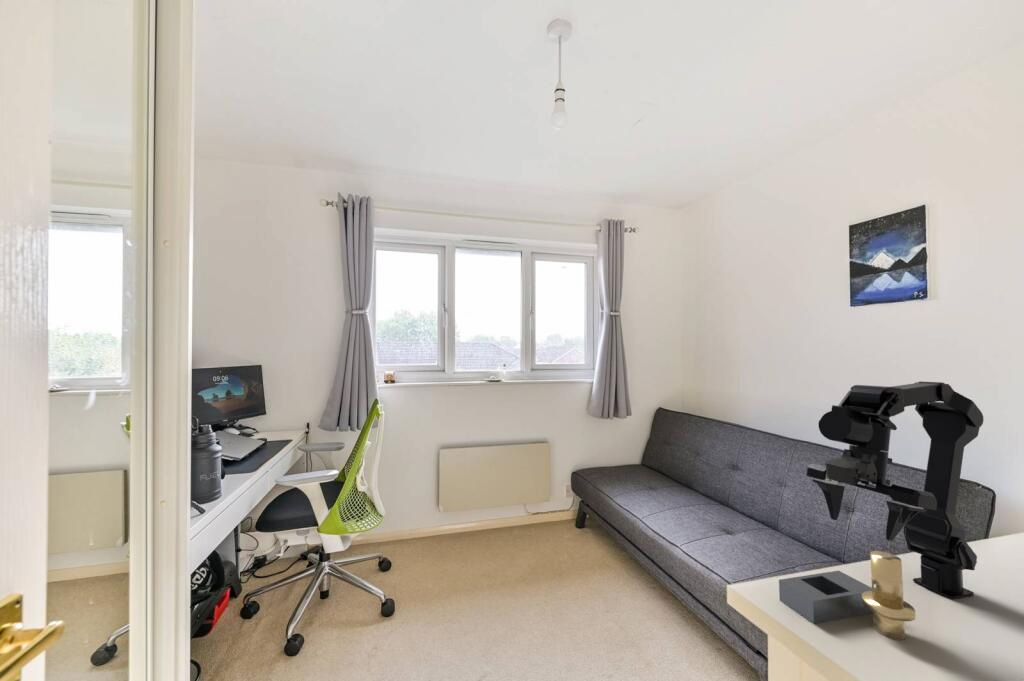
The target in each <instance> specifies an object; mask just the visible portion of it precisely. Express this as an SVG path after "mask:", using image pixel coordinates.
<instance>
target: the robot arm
mask: <svg viewBox="0 0 1024 681" xmlns="http://www.w3.org/2000/svg"><path fill="white" fill-rule="evenodd" d="M911 406H915V408H914V410H915V411H916V412H917V414H918V415H919V416H920V417H921V419H922V422H921V423H922V428H923V429H924V430H925V432H926V434H927V435H928V437H929V438H930V443H929V444H930V445H929V452H928V458H927V466H926V472H925V478H924V485H923V490H922V489H917V488H915V487H910V486H905V485H899V484H894V483H892V484H891V479H887V471H888V464H890V465H892V464H893V458H891V457H889V450H890V442H891V441H890V440H891V432H892V431H896V430H897V429H898V428H897V426H896V424H895V423H893V422H892V421H891V419H890V418H891V417H895V416H898V415H899V414H900V415H901V414H902V413H904V412H905V408H906V407H911ZM983 424H984V415H983V413H982V411H981V409H980V408H979V407H978V405H977V404H976V403H975V402H974V401H973V400H972V399H970V398H968V397H966V396H964V395H963V394H961V393H959V392H957V391H955V390H954V388H952V386H951V385H950V384H949V383H944V382H941V381H940V382H939V381H937V382H936V381H917V382H914V383H907V384H901V385H894V386H882V385H881V386H880V385H865V384H863V385H862V384H855V385H852V386H851V387H850V389H849V391H848V392H847V393H846V395H844V396H843V398H842V399H841V401H840V402H839V404H837V405H834V404H832V406H831V410H830V411H827V412H826V413H824V414H823V415H822V416H821V417H820V419H819V421H818V430H819V432H820V434H821V435H822V436H823V437H824V438H825V439H827V440H829V441H834V442H838V443H842V444H847V445H848V446H849V447H848V449H847V448H843V449H844V450H843V452H842V456H841V457H835V458H832V459H828V460H826V461H825V462H824V464H825V465H820V464H816V463H810V464H809V465H808V466H807V467H806V472H805V476H806V477H810V478H811V481H812V482H813V483H815V484H816V485H817V486H818V487H819V488H820V489H821V491H822V493H823V496H824V499H825V502H826V505H827V509H828V512H829V516H830V519H831V520H832V521H837V520H838V518H839V515H840V513H841V512H840V511H841V508H842V502H843V498H844V492H845V487H846V486H844V485H842V484H845V485H849V486H853V487H857V488H861V489H863V490H867V491H872V492H874V493H879V494H882V495H885V496H888V497H890V498H891V500H892V501H890V500H886V501H885V503H886V505H887V509H888V514H887V515H888V516H887V521H886V522H887V523H886V529H885V539H886V540H887V541H889V542H890V541H891V542H892V541H893V540H895V538H896V537H897V535H899V533H900V532H901V531H902V529H903V535H904V539H905V542H906V546H907V548H908V551H910V552H914V553H917V554H919V555H920V577H913V579H912V581H913V582H914V583H915V584H919V585H920V586H921V587H924V586H925V588H926V587H927V589H929V590H930V591H933V592H936V593H937V594H940V595H941V596H944V597H946V598H948V599H953V600H955V599H958V598H963V597H964V598H966V597H970V596H974V592H973V591H972V590H970V589H967V588H964V578H963V571H964V570H965V571H966V570H967V571H968V570H969V571H975V570H976V569H975V567H977V566H976V565H977V564H978V562H977V559H978V556H977V554H976V553H975V552H974V550H973V549H972V548H971V546H970V545H969V544H968V542H967V541H966V531H965V529H964V527H963V525H962V524H961V522H960V521H959V519H958V518H957V516H956V511H957V510H956V509H957V501H958V494H959V488H960V479H961V473H962V467H963V466H962V465H963V458H964V452H965V447H966V446H968V444H970V443H971V442H973V441H974V440H975V439H976V438H977V437H978V435H979V433H980V432H979V431H980V428H981V427H982V426H983ZM891 430H892V431H891ZM839 483H842V484H839ZM870 483H871V484H870Z"/></svg>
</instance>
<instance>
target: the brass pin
mask: <svg viewBox="0 0 1024 681" xmlns="http://www.w3.org/2000/svg"><path fill="white" fill-rule="evenodd" d="M869 557H870V574H871V577H870V580H871V588H872V591H865V592H863V593H862V602H863V604H864V605H865V606H866V607H868V608H869V609H870V610H872V611H873V613H872V624H873V628H874V630H875V631H876V632H878V633H879V634H880V635H881V636H885V637H887V638H889V639H892V640H898V641H903V640H905V639H906V631H905V628H906V627H905V622H914V621H915V620H916V609H915V608H914V606H912V605H911V604H910V603H909V602H906V600H904V589H903V588H904V585H903V565H902V563H903V562H902V559H901V558H900V557H899V556H897V555H894V554H893V553H890V552H886V551H881V550H872V551H870V556H869Z"/></svg>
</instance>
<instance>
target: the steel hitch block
mask: <svg viewBox="0 0 1024 681" xmlns="http://www.w3.org/2000/svg"><path fill="white" fill-rule="evenodd" d="M778 589H779V590H778V592H779V597H778V598H779V601H780V602H782V603H783V604H784V605H786V606H787V607H788V608H790V609H791V610H793V611H795V612H796V613H797V614H799V615H800V616H801V617H804V618H805V619H806V620H808V621H809V622H810V623H812V624H819V623H826V622H831V621H836V620H842V619H846V618H847V619H848V618H851V617H857V616H863V615H867V614H873V611H872V610H870V609H869V608H868V607H866V606H865V605H864V604H863V602H862V593H863V592H865V591H872V586H869V585H867V584H865V583H863V582H862V581H859V580H857V579H856V578H854V577H852V576H850V575H849V574H847V573H846V574H845V573H844V572H842V571H840V570H833V571H826V572H821V573H814V574H809V575H808V574H806V575H801V576H796V577H787V578H781V579H778Z"/></svg>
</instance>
